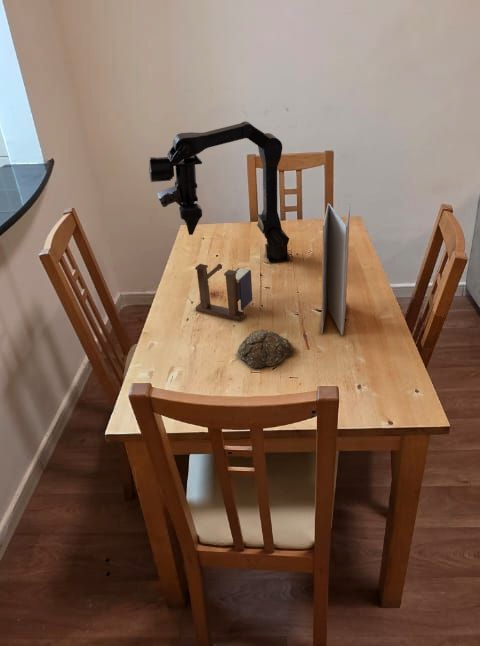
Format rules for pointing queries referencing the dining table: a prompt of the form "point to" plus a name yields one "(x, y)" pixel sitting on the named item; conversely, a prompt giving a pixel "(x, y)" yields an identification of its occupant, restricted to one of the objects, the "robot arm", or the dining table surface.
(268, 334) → the grey brown rock
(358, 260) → the dining table surface
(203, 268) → the peg stand
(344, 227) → the brochure
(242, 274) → the book
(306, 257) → the dining table surface
